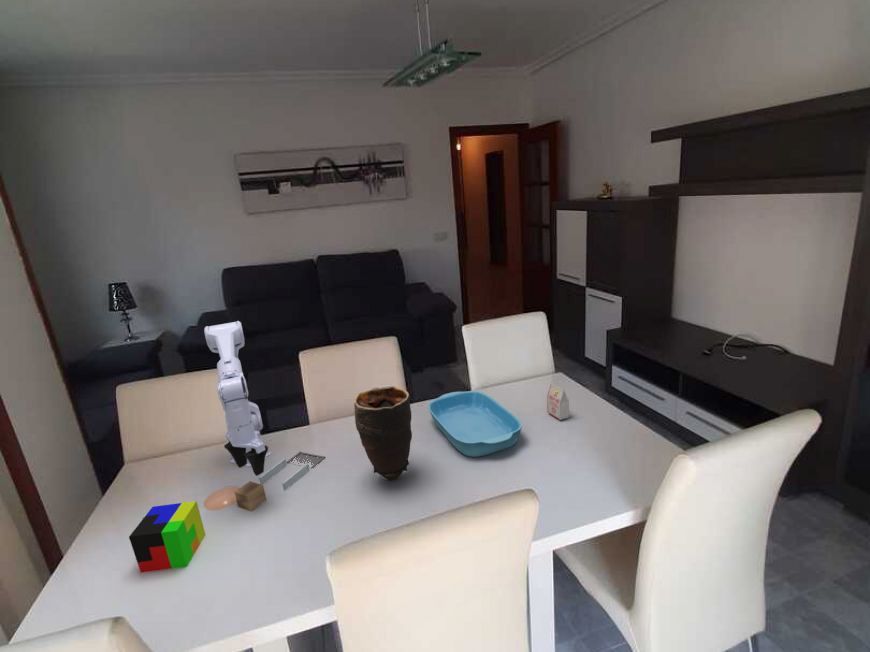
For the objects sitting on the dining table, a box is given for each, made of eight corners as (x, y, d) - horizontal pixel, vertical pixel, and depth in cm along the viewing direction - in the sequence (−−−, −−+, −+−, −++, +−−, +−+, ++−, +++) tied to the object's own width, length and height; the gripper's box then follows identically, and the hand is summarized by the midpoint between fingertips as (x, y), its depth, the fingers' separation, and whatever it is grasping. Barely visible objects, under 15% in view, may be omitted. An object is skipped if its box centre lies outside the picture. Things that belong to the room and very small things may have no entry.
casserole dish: (535, 450, 134) (535, 428, 132) (467, 472, 127) (465, 449, 125) (478, 403, 167) (477, 385, 165) (421, 418, 160) (419, 399, 158)
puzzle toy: (163, 542, 110) (152, 506, 107) (205, 536, 111) (196, 501, 108) (141, 574, 100) (128, 536, 98) (187, 568, 101) (176, 530, 98)
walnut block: (238, 508, 120) (234, 492, 118) (253, 497, 124) (249, 481, 123) (251, 513, 118) (248, 496, 116) (266, 501, 122) (263, 485, 120)
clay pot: (366, 501, 118) (353, 413, 111) (362, 469, 132) (350, 389, 125) (423, 489, 120) (413, 402, 114) (413, 458, 135) (404, 380, 128)
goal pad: (195, 506, 122) (195, 505, 122) (225, 484, 131) (225, 483, 131) (221, 514, 118) (221, 513, 118) (251, 491, 127) (251, 490, 126)
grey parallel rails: (260, 485, 129) (258, 477, 128) (285, 465, 138) (283, 458, 137) (285, 491, 125) (284, 483, 124) (309, 471, 134) (308, 463, 133)
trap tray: (286, 463, 139) (286, 462, 138) (300, 453, 144) (299, 451, 144) (312, 469, 134) (312, 467, 134) (325, 458, 140) (325, 456, 139)
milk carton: (556, 409, 157) (555, 382, 154) (569, 417, 151) (568, 389, 148) (547, 411, 156) (546, 384, 153) (559, 420, 150) (559, 391, 147)
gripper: (271, 421, 115) (280, 469, 118) (238, 410, 123) (248, 455, 127) (245, 434, 109) (256, 483, 113) (213, 421, 118) (225, 468, 121)
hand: (250, 469), depth 120 cm, fingers open, 7 cm apart
